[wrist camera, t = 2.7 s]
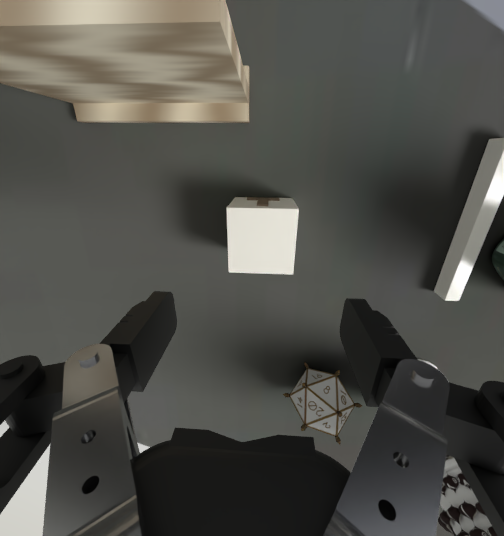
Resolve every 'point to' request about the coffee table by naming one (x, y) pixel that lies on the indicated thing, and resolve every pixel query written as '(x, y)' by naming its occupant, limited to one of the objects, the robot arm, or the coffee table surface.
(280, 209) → the letter cube
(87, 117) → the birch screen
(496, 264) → the coffee jar
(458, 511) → the decorative candle
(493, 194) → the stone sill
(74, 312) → the coffee table surface
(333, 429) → the game die
